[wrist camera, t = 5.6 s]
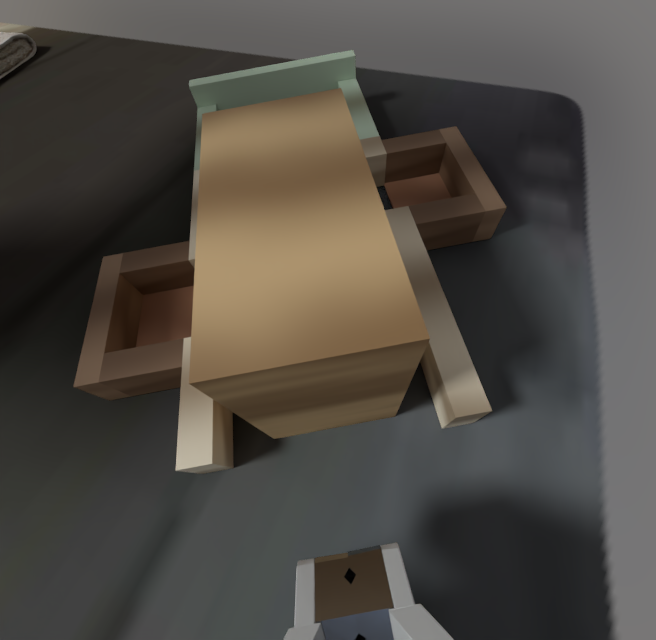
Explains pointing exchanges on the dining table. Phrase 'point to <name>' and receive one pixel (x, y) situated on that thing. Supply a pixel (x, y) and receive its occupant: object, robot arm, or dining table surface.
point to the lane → (178, 285)
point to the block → (298, 272)
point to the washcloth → (14, 51)
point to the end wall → (274, 81)
